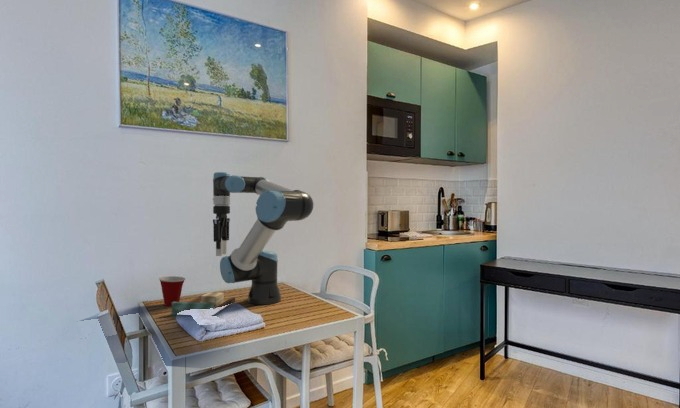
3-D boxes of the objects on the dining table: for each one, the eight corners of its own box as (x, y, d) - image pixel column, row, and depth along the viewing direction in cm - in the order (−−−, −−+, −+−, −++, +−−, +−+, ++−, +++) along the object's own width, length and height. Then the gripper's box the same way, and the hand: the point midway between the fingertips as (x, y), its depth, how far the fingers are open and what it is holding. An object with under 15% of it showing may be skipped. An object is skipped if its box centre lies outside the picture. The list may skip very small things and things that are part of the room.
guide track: (235, 301, 181) (235, 290, 181) (211, 317, 157) (211, 304, 157) (200, 300, 183) (200, 289, 183) (171, 315, 160) (171, 302, 160)
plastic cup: (184, 306, 172) (184, 279, 172) (157, 308, 169) (157, 280, 169) (186, 300, 182) (186, 274, 182) (160, 302, 179) (160, 275, 179)
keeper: (223, 302, 180) (223, 292, 180) (216, 306, 173) (216, 296, 173) (209, 301, 181) (209, 292, 181) (201, 305, 175) (201, 295, 175)
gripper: (222, 205, 195) (221, 252, 195) (205, 205, 178) (205, 257, 178) (236, 205, 194) (236, 252, 194) (221, 205, 177) (221, 257, 177)
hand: (221, 254), depth 186 cm, fingers open, 4 cm apart
